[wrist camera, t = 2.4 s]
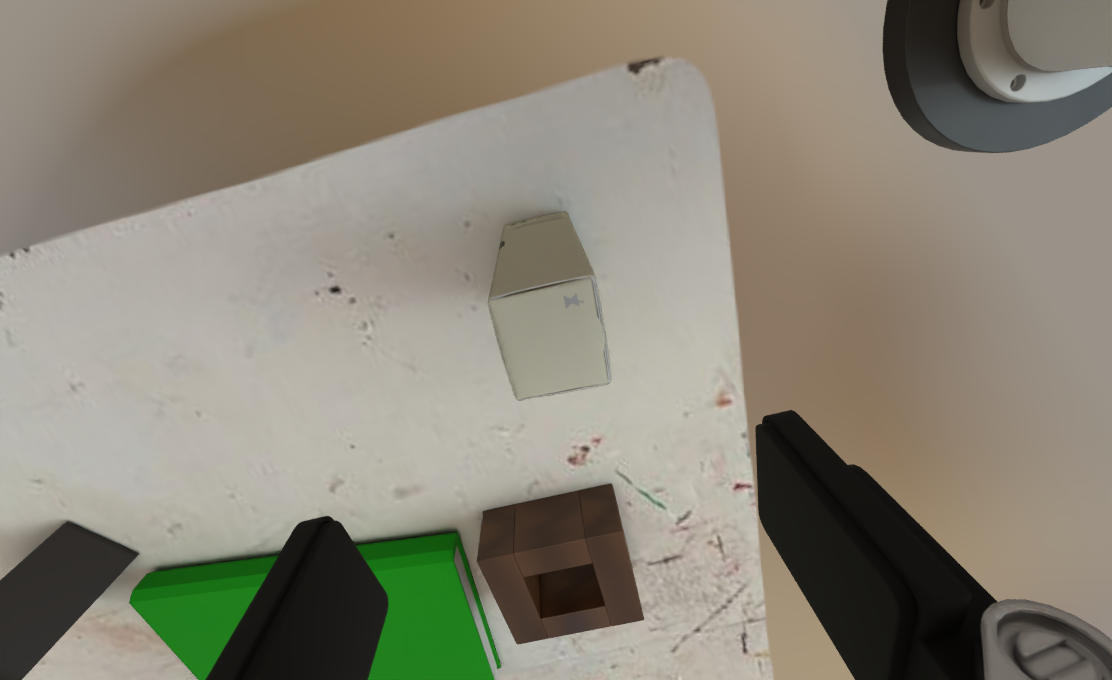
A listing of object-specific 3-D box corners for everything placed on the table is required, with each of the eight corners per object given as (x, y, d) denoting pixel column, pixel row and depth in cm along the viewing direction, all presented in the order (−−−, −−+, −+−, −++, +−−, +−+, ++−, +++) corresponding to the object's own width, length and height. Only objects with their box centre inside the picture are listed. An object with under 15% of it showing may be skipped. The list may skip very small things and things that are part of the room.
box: (501, 223, 27) (479, 291, 16) (569, 209, 27) (596, 267, 16) (520, 299, 30) (513, 406, 18) (582, 287, 30) (615, 387, 18)
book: (500, 664, 49) (498, 696, 46) (257, 695, 49) (242, 728, 46) (456, 527, 39) (451, 556, 36) (153, 566, 39) (125, 598, 37)
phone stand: (96, 599, 41) (-61, 767, 30) (25, 571, 39) (-170, 740, 28) (140, 552, 38) (-12, 716, 28) (68, 519, 36) (-127, 683, 26)
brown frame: (612, 483, 38) (622, 531, 33) (632, 568, 43) (644, 620, 38) (482, 511, 38) (476, 561, 34) (518, 591, 43) (516, 645, 39)
